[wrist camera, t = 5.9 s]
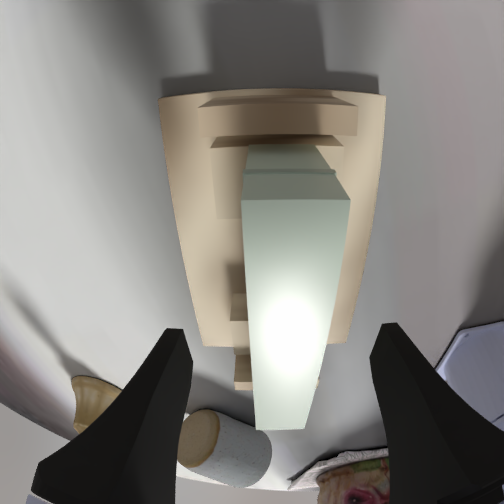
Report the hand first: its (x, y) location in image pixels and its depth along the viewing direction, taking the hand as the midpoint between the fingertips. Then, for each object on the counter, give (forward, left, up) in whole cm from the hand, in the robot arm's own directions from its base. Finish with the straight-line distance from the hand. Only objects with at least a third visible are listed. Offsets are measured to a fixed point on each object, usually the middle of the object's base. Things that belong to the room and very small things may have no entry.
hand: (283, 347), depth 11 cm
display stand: (0, 0, -7) cm, 7 cm away
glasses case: (0, 0, -4) cm, 4 cm away
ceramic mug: (+6, +24, -7) cm, 26 cm away
